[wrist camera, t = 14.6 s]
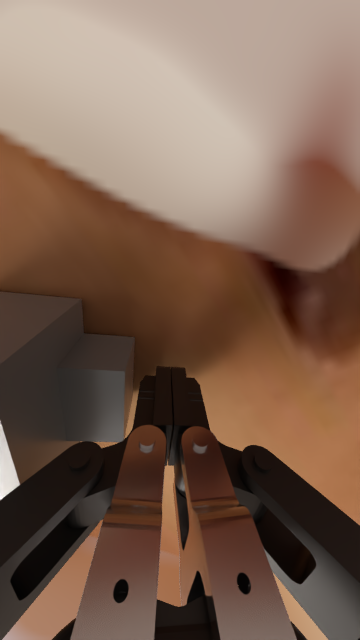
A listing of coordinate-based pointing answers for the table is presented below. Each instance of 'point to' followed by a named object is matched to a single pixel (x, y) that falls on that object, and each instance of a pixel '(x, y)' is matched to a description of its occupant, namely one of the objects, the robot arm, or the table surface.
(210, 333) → the table surface
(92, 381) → the cap
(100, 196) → the table surface
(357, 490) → the table surface
